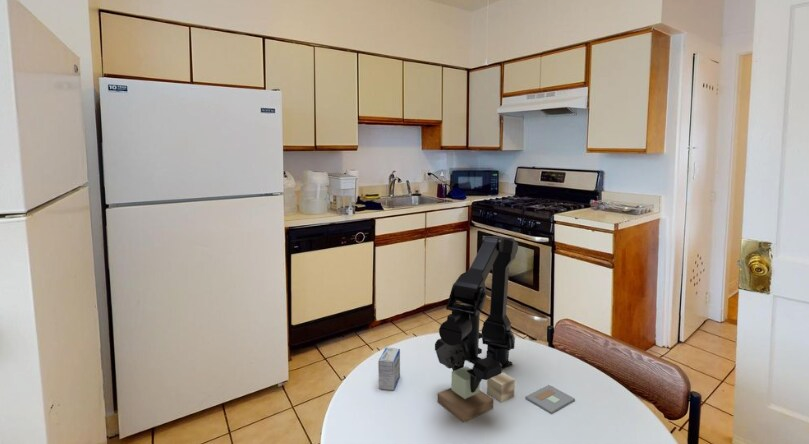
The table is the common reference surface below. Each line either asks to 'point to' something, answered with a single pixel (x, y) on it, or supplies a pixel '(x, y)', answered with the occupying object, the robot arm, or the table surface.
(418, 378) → the table surface
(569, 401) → the slate card
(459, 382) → the sage cube
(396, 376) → the medicine box
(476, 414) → the walnut block
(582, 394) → the table surface
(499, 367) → the robot arm
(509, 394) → the birch cube
